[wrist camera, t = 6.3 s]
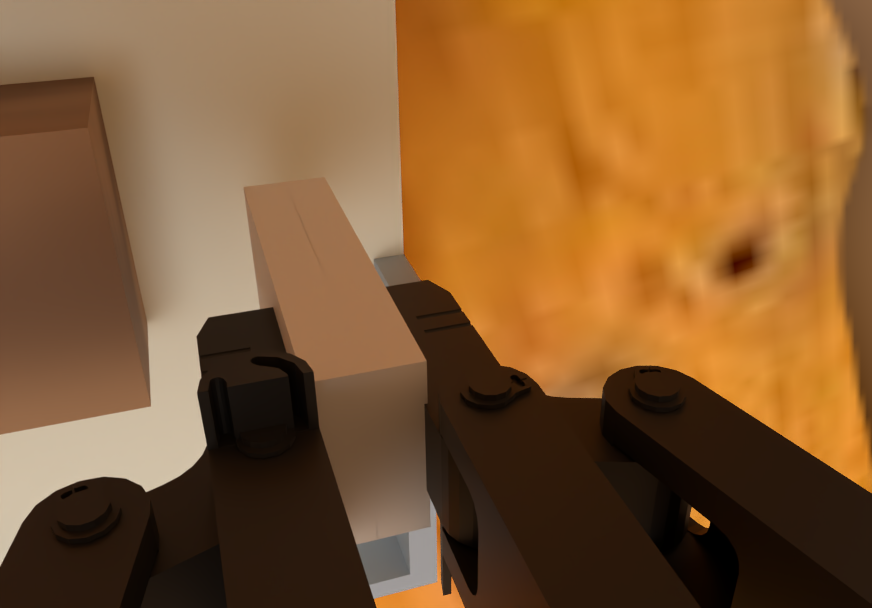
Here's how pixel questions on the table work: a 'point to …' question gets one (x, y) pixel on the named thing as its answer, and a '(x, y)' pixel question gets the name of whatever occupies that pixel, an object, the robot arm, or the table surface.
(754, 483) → the robot arm
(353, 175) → the deck
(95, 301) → the walnut block
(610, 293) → the table surface
